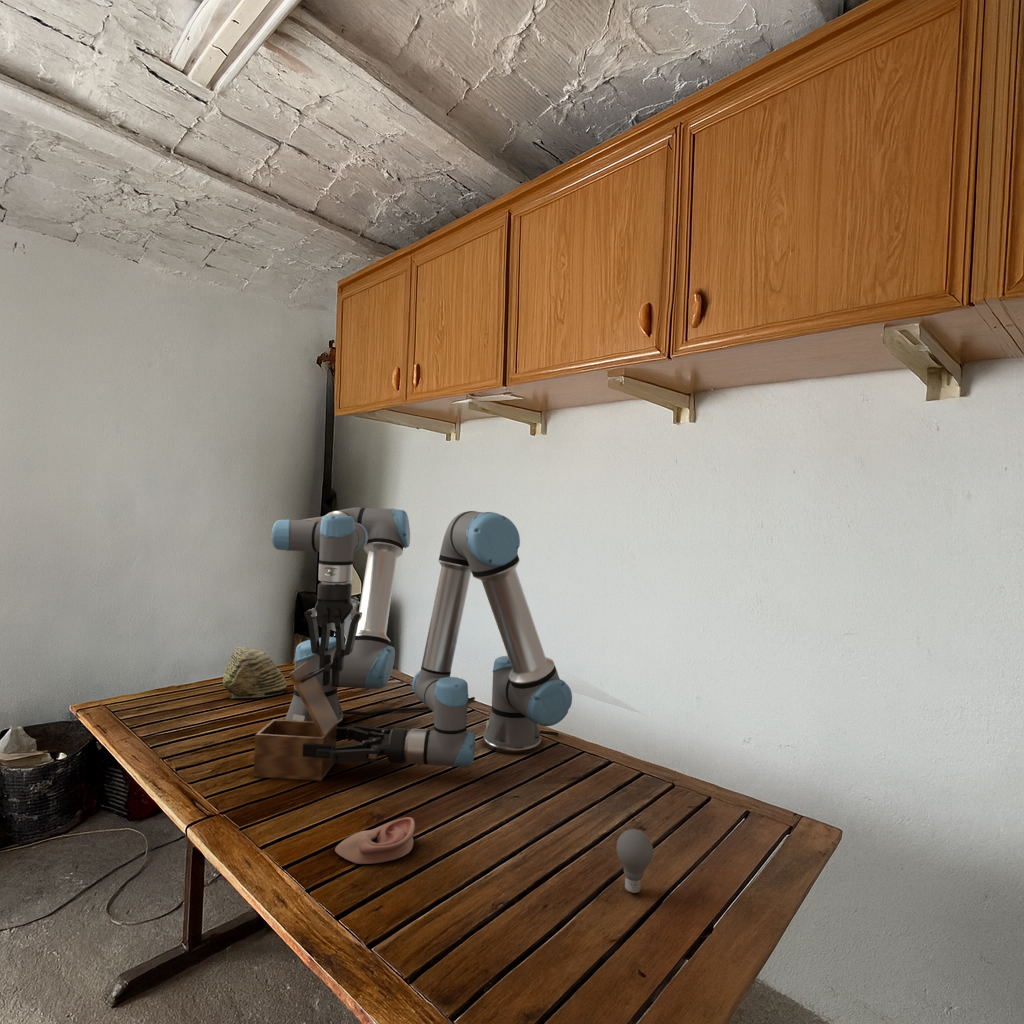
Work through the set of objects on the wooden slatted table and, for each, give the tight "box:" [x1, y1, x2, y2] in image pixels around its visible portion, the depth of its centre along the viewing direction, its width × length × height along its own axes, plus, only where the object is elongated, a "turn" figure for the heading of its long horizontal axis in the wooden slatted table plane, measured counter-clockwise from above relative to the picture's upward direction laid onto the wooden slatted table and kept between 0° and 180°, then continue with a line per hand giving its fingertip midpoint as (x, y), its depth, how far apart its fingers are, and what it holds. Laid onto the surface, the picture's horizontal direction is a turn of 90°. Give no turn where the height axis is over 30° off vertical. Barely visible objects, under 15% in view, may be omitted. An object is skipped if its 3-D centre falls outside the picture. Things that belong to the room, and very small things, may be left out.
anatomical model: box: [334, 816, 416, 865], centre depth 115 cm, size 13×4×12 cm
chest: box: [253, 718, 338, 782], centre depth 146 cm, size 15×10×10 cm, turn 88°
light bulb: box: [615, 828, 654, 894], centre depth 106 cm, size 6×6×10 cm
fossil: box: [222, 646, 288, 699], centre depth 198 cm, size 9×18×15 cm, turn 132°
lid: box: [288, 660, 338, 737], centre depth 146 cm, size 16×10×8 cm
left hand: (330, 684), depth 146 cm, fingers closed on lid, 1 cm apart
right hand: (311, 740), depth 146 cm, fingers closed on chest, 10 cm apart
